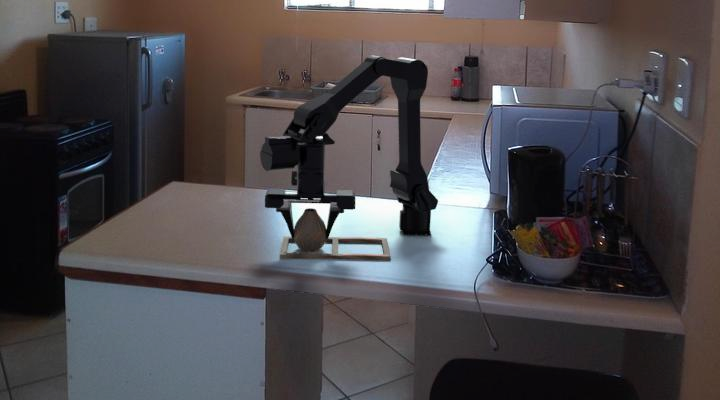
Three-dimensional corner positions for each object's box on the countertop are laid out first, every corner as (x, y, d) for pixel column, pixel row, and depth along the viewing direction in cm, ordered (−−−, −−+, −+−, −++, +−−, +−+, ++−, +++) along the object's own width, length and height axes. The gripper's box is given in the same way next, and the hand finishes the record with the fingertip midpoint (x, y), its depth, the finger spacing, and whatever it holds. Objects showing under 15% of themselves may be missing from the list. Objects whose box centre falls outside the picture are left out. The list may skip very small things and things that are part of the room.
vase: (309, 241, 168) (309, 203, 166) (332, 249, 164) (333, 209, 161) (287, 249, 163) (287, 209, 160) (310, 257, 158) (311, 216, 156)
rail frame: (386, 241, 170) (386, 237, 169) (390, 260, 158) (390, 255, 158) (283, 239, 169) (283, 235, 168) (279, 258, 157) (279, 254, 157)
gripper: (354, 158, 167) (353, 227, 171) (268, 157, 166) (269, 225, 170) (356, 170, 156) (354, 243, 160) (264, 168, 155) (264, 241, 159)
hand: (310, 237), depth 163 cm, fingers closed on vase, 7 cm apart
